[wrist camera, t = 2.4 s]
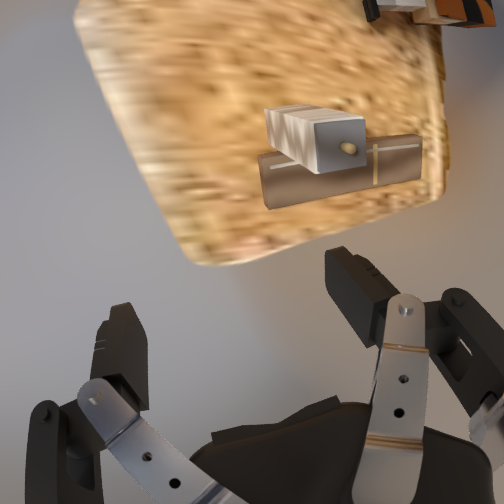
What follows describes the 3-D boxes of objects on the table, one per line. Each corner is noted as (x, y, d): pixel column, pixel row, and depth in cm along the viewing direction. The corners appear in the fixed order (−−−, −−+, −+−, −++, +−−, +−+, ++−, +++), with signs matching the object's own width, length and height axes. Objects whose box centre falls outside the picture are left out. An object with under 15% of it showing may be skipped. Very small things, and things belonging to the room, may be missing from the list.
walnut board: (257, 155, 44) (262, 159, 42) (413, 133, 48) (422, 136, 46) (264, 204, 48) (269, 210, 46) (412, 174, 52) (421, 178, 50)
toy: (379, 12, 27) (504, 26, 22) (370, -25, 24) (496, -9, 19) (363, 24, 40) (462, 28, 34) (356, -4, 37) (456, 1, 31)
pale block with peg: (264, 108, 41) (321, 124, 25) (302, 103, 42) (376, 119, 26) (269, 144, 44) (325, 181, 28) (306, 138, 45) (376, 171, 29)
